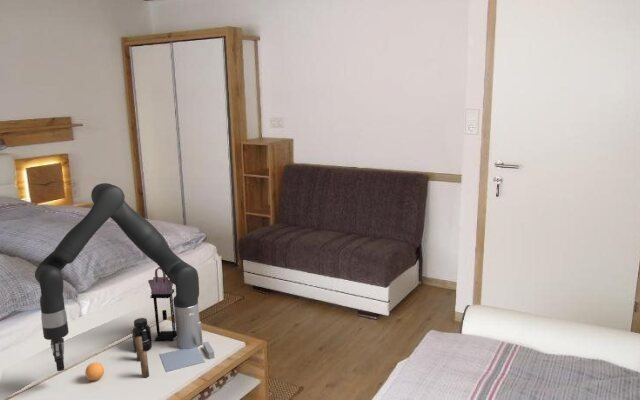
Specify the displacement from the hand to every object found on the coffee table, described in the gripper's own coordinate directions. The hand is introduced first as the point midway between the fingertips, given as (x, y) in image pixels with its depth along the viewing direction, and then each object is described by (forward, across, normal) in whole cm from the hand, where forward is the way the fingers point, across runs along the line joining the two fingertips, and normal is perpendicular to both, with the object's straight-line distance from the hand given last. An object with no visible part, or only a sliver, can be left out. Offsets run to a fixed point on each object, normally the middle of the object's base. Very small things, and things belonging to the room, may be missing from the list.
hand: (60, 369), depth 178 cm
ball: (+3, 0, -10) cm, 11 cm away
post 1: (+6, +6, -26) cm, 28 cm away
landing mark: (+6, 0, -40) cm, 41 cm away
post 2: (+6, -6, -26) cm, 28 cm away
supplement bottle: (+6, +15, -28) cm, 33 cm away
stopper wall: (+6, -1, -50) cm, 51 cm away
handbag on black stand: (+6, +21, -38) cm, 44 cm away
